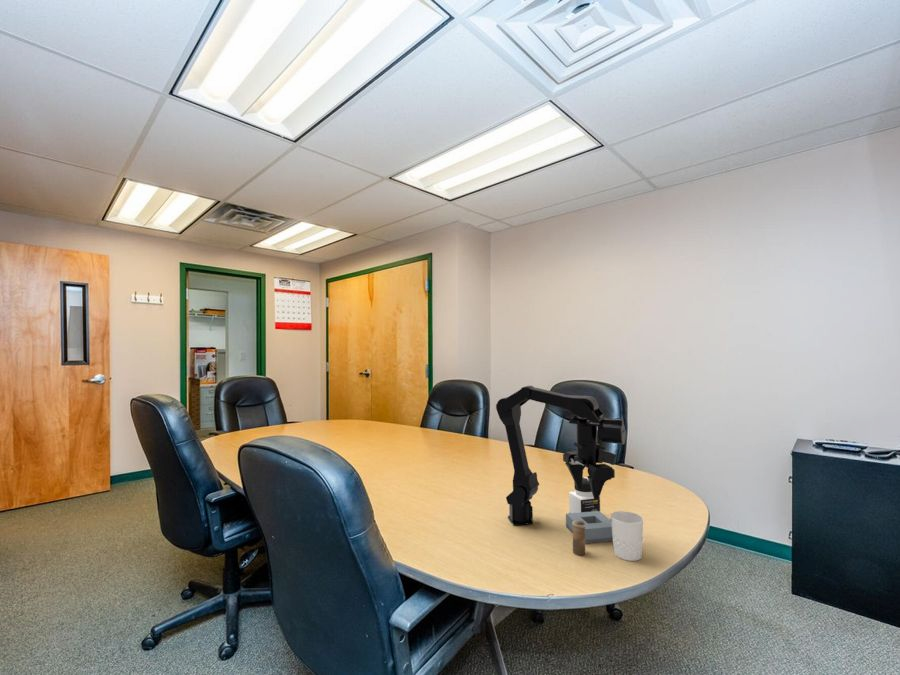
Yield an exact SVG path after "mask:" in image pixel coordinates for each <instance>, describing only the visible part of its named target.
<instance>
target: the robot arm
mask: <svg viewBox="0 0 900 675" xmlns="http://www.w3.org/2000/svg"><path fill="white" fill-rule="evenodd" d="M528 401H534V402H538V403H542V404H544V405H545V404H546V405H550V406H554V407H558V408H562V409H563V410H566V411H567V412H569V413H571V414H573V417H572V418H571V419H570V420H569V421H568V423H569V424H571V425H572V424H573V425H576V428H575V429H576V441H573V446H574V447H576V450H574V451H573V450H572V451H570V450H569V451H565V452H564V453H563V454H562V460H563V462H564V463H565V465H566V467H567V468H568V471H569V473H570V475H571V477H572V479H573V482H575V484H576V486H577V488H578V489H581V487H582V478H583V477H584V476H583V474H584V470H585V468H587V473H588V474H587V476H586V478H588V480H589V484H590V487H591V491H592V494H593V497H594V499H595V500H598V499H599V497H600V495H601V494H602V493H601V492H602V491H603V488H604V485H605V483H606V482H607V481H611V480H612V479H615V478H616V475H615V474H616V472H615V471H616V470H615V469H614V468H613V466H615V462H616V460H617V454H615V453H613V452H611V451H608V450H606V448H605V446H604V445H601V444H599V443H598V439H599V440H601V442H602V443H607V444H608V443H609V444H618V445H625V443H626V437H627V430H626V428H625V424H624V419H623V418H615V419H614V418H607V417H606V415H605V414H604V412H603V411H602V410H601V408H600V406H599V402H598V401H597V399H596V398H595V397H594V396H592V395H580V394H578V395H577V394H575V395H574V394H573V395H571V394H566V393H565V394H564V393H559V392H556V391H553V390H552V391H551V390H547V389H543V388H540V387H535V386H534V385H533V386H532V385H527V386H526V385H525V386H523V387H521V388H520V389H519V390H517V391H516V392H514V393H512V394H511V395H509V396H508V397H502V398H500V399H499V400H497V403H496V404H495V409H496V411H497V414H498V417H499V419H500V421H501V423H502V424H503V425H504V428H505V431H506V437H507V442H508V445H509V446H508V448H509V450H510V456H511V460H512V461H511V462H512V466H513V470H514V471H513V477H512V492H510V493H509V494H508V495H507V496H506V497H505V499H506V502H507V505H509V515H507V518H508V520H509V521H510V522H511V524H512V525H513V526H522V525H533V524H534V521H533V519H534V518H533V516H534V514H533V513H534V512H533V510H534V509H533V506H532V502H531V500H532V499H533V496H535V495H536V493H537V492H538V490H539V486H540V482H539V480H538V474H537V472H536V471H534V472H532V470H531V469H530V466H529V462H528V458H527V452H526V448H525V443H524V439H523V438H524V437H523V434H522V428H521V423H520V422H521V416H522V406H523V405H525V404H526V403H527V402H528ZM603 462H605V463H603ZM606 463H608V464H610V465H611V466H610V465H608V464H606Z"/></svg>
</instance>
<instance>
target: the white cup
mask: <svg viewBox="0 0 900 675" xmlns="http://www.w3.org/2000/svg"><path fill="white" fill-rule="evenodd" d="M610 520H611V524H612V537H613V541H612V544H613V553H614V555H615V556H616V557H618V558H619V559H622V560H624V561H629V562H635V561H639V560H641V558H642V556H643V555H642V553H643V552H642V551H643V549H642V548H643V537H644V536H643V533H644V528H643V527H644V518H643V517H642V516H641V515H639V514H637V513H635V512H631V511H625V510H617V511H613V512H611V513H610Z"/></svg>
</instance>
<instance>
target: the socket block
mask: <svg viewBox="0 0 900 675" xmlns="http://www.w3.org/2000/svg"><path fill="white" fill-rule="evenodd" d="M575 520H580V521H583V522H584V523H585V544H591V543H592V544H593V543H602V542H603V543H604V542H605V543H606V542H613V537H612V524H611V518H609V517H608V516H606V515H605V514H604V513H603V512H601V510H600V511H593V512H580V513H570V512H569V513H568V512H567V513H565V527H566V528H567V529H568V531H570V532H571V534H573V525H572V522H573V521H575Z"/></svg>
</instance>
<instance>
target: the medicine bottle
mask: <svg viewBox="0 0 900 675" xmlns="http://www.w3.org/2000/svg"><path fill="white" fill-rule="evenodd" d="M573 482H574V481H573ZM573 484H574V490H573V491H569V493H568V499H569V500H568V502H569V503H568V505H569V508H568V509H569V513H580V512H593V511H600V512H601V497H600V496H599V499H598V500H595V499H594V497H593V494H592V491H591V487H590V484H589V480H588V477H584V476H583V478H582V487H581V489H578V488H577V486H576V484H575V482H574V483H573Z"/></svg>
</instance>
